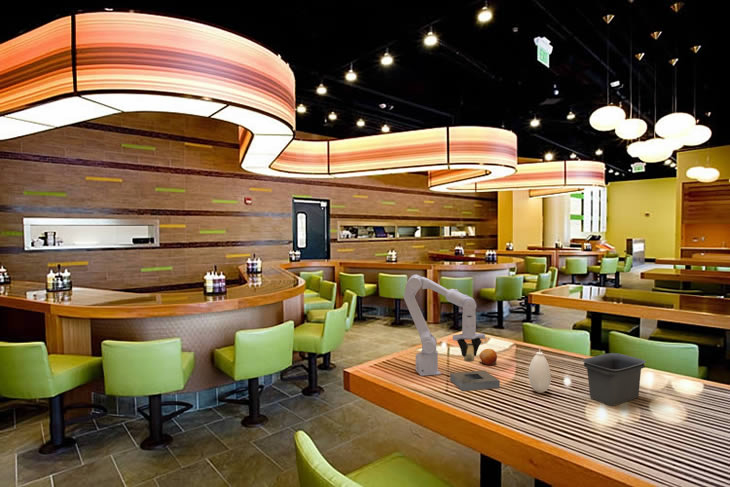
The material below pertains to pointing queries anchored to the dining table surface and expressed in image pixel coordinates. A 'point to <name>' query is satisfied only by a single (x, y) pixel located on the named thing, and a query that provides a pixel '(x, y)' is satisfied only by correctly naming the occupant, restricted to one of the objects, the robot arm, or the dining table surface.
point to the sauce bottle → (539, 373)
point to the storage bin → (614, 377)
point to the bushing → (469, 352)
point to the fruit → (488, 356)
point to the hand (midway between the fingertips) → (469, 355)
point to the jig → (474, 380)
